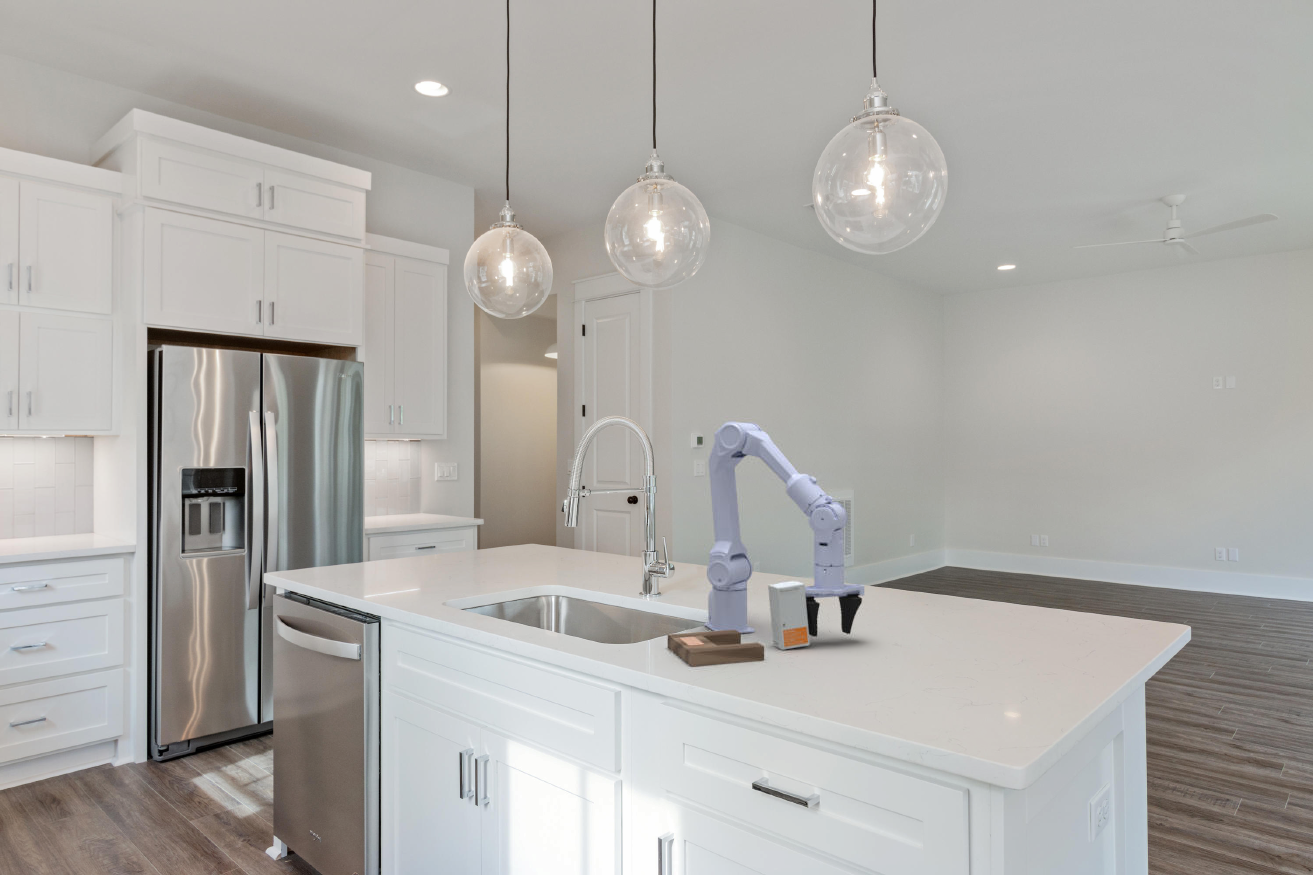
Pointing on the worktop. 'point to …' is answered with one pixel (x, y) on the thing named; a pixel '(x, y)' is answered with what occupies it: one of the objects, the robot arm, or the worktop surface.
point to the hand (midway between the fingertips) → (829, 634)
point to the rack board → (714, 648)
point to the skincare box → (789, 615)
